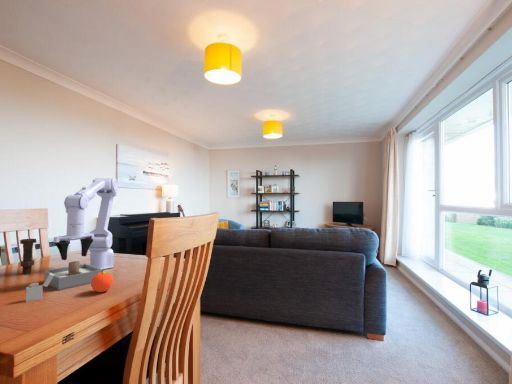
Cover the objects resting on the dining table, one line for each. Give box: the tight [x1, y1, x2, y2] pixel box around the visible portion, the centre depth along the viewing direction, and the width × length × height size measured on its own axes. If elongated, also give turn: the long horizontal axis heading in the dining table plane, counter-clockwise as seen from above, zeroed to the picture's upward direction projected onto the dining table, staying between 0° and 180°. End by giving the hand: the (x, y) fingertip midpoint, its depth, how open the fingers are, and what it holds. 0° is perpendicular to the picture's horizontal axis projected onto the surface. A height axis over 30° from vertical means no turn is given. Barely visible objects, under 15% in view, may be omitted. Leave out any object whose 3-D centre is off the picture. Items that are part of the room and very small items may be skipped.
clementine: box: [90, 271, 116, 293], centre depth 95 cm, size 8×7×7 cm
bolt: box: [19, 238, 37, 275], centre depth 115 cm, size 6×5×15 cm
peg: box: [68, 260, 81, 276], centre depth 105 cm, size 4×4×7 cm
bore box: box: [43, 263, 104, 292], centre depth 105 cm, size 15×16×4 cm
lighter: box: [25, 273, 54, 303], centre depth 87 cm, size 7×2×8 cm, turn 130°
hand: (74, 257), depth 106 cm, fingers open, 7 cm apart
